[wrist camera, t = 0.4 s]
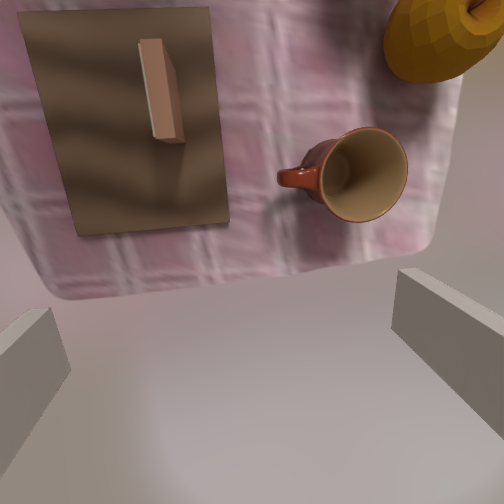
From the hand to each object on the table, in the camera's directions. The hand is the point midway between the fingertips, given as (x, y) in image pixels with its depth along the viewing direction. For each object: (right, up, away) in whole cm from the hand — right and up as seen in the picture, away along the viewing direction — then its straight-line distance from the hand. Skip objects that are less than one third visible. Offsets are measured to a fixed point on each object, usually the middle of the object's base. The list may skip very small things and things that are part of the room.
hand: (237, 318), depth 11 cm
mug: (+8, +13, +26) cm, 30 cm away
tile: (-8, +18, +20) cm, 28 cm away
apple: (+18, +26, +23) cm, 39 cm away
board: (-12, +16, +22) cm, 30 cm away
